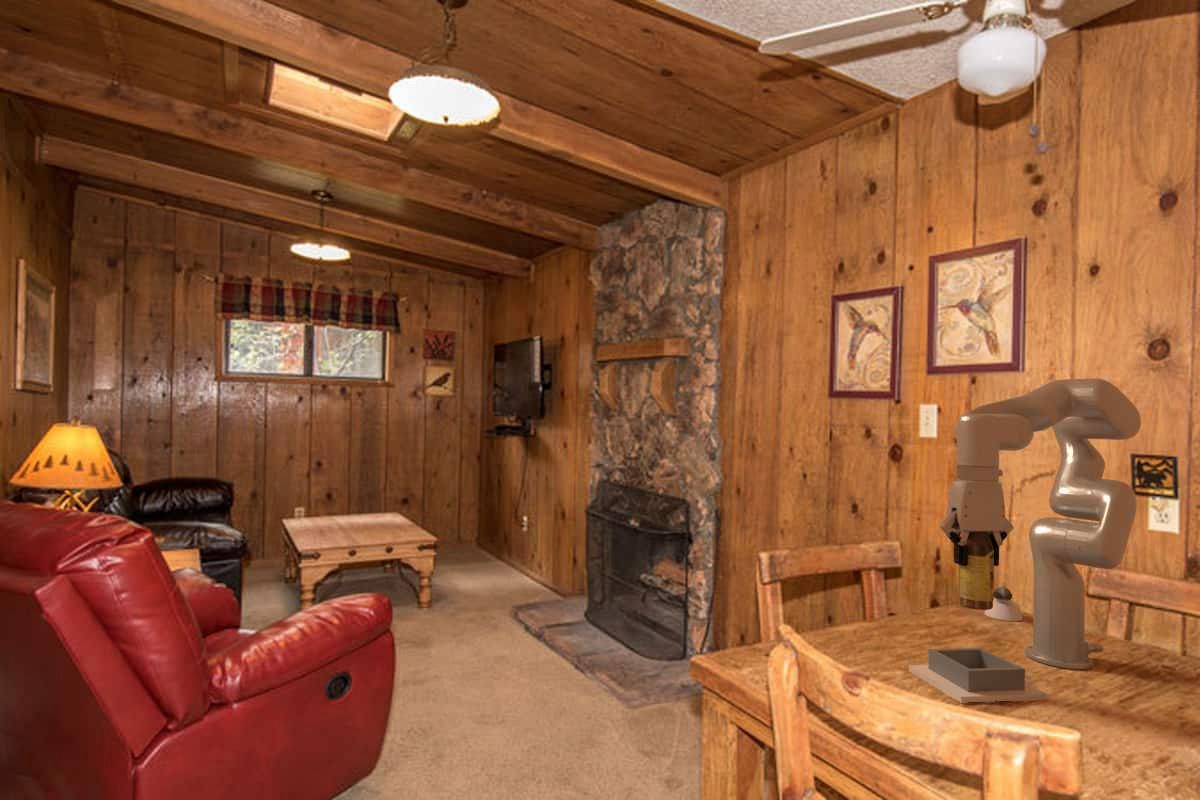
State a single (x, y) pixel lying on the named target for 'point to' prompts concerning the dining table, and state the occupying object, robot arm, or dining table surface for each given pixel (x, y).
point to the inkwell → (1004, 606)
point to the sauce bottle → (977, 573)
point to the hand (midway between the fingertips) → (976, 563)
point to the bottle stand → (976, 676)
